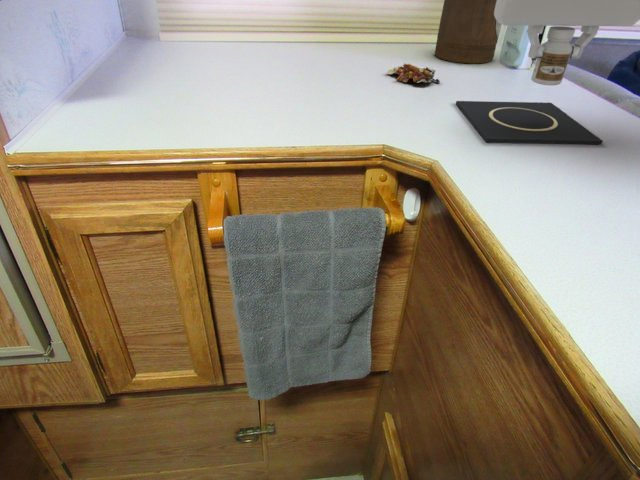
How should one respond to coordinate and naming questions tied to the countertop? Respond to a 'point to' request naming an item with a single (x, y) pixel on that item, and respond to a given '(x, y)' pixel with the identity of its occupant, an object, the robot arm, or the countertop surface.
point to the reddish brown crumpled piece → (413, 73)
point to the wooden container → (467, 31)
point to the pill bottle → (554, 56)
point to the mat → (525, 123)
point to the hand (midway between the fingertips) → (553, 57)
